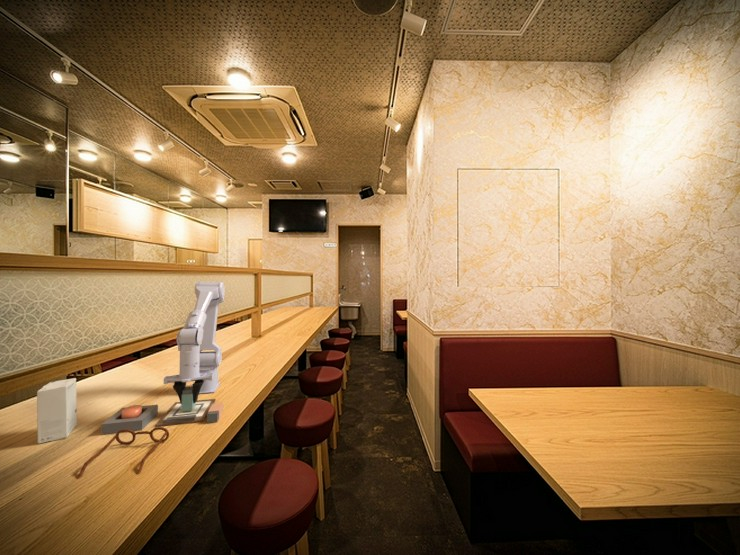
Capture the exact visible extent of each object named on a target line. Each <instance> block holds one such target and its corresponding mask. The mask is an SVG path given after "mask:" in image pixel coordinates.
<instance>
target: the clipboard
mask: <svg viewBox="0 0 740 555" xmlns="http://www.w3.org/2000/svg"><path fill="white" fill-rule="evenodd" d="M215 402H216V398H210V399H201V400H199V399H197V401H196V406H195V407H194V409H193V410H191V411H181V409H182V404H181V403H180V401H177V402H176V401H175V402H174V403H173V405H172V406H171V407H170V408H169V409H168V410H167V412H165V413H164V415H163V416H162V417H161V418H160V419H159V420H158V422H157V423H156V424H155V427H154V428H157V427H166V426H167V427H168V426H177V425H186V424H194V423H195V424H196V423H203V422H204V421H205V419H206V418H207V414H208V411H209V409H210V408H211V406H212V404H213V403H215Z"/></svg>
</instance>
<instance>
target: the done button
mask: <svg viewBox="0 0 740 555" xmlns="http://www.w3.org/2000/svg"><path fill="white" fill-rule="evenodd" d="M142 406H143V405H141V404H135V405H129V406H127V407H126V408H125V407H123V408H124V409H123V410H122V419H128V418H138V417H139V416H140V415H141V414H142Z"/></svg>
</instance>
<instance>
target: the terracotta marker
mask: <svg viewBox="0 0 740 555" xmlns="http://www.w3.org/2000/svg"><path fill="white" fill-rule="evenodd" d="M223 412H224V402H216V403H215V402H214V403H213V404H212V406H211V408H210V409H209V411H208V414H207V416H206V424H212V423H218V422H219V421H220V419H221V416H222V414H223Z"/></svg>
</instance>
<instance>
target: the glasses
mask: <svg viewBox="0 0 740 555" xmlns="http://www.w3.org/2000/svg"><path fill="white" fill-rule="evenodd" d="M155 431H163V432H164V433H163V435H162V436H161V437H160V438H159V439H157V438H155V437H154V432H155ZM126 432H127V433H129V434H131V435H132V439H131V440H130V441H123V440H121V439H120V434H121V433H126ZM137 435H149V437H150V439H151V441H153V442H155V443H156V444H155V445H154V447H153V448H152V449H151V450H150V451H149V452H148V453H146V455H145V456H143V458H142V459H141V462H140V465H139V467H138V470H137V473H136V474H137V475H139V474H140V473H141V472H142V469H143V467H144V464H145V461H146V460H147V459H148V457H149V456H150V455H152V454H153V453H154V452H155V451H156V450H157V448H158V447H159V446H160V444H161V443H164V442H166V441H168V439H169V437H170V432H169V430H168V428H165V427H164V426H159V427H154V428H152V429H151V430H150V431H148V430H139V431H136V432H135V431H132V430H130V429H122V430H120V431H118V432H117V433H115V435H114V436H113V437H112V438H111V439H110V440H109V441H108V442H107V443H106V444H105V445H104V446H103V447H102V448H101V450H99V451H98V452H97V453H96V454H94V455H92V456H91V457H90V458H89V459H87V460H86V461H85V462H84V463H83V465H82V467H81V470H80V471H79V474H78V476H77V478H76V479H77V480H78V479H81V478H82V477H83V475H84V473H85V470H86V468H87V466H88V464H90V462H92V461H93V460H94V459H96V458H97V457H99V456H100V455H101V454H103V452H104V451H106V449H107V448H108V447H109V446H110V445H111V444H112V443H113V442H114V441H115V440H116V442H117V443H118V444H120V445H130V444H132V443H134V442H135V441H136V437H137Z"/></svg>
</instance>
